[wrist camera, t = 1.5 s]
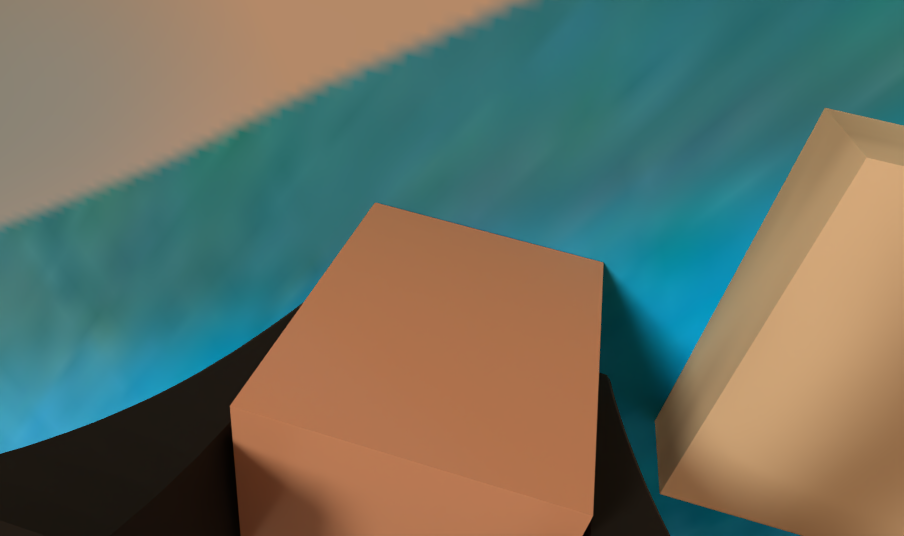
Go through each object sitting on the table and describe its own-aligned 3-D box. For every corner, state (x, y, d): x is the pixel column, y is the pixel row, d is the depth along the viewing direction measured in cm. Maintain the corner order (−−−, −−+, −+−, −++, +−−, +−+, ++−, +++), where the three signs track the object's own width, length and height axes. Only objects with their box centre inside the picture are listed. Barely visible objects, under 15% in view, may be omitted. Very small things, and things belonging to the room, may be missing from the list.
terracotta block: (603, 262, 13) (593, 516, 8) (543, 419, 15) (508, 674, 11) (374, 202, 13) (230, 405, 8) (358, 365, 16) (245, 586, 11)
